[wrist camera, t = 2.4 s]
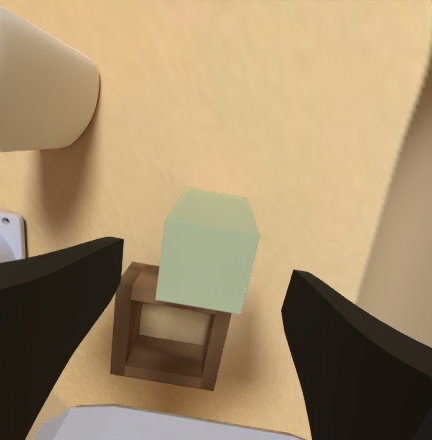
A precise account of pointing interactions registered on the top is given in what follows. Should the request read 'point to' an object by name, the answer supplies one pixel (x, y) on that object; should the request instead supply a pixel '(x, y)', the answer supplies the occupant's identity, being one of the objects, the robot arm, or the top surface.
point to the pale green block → (207, 251)
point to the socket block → (161, 348)
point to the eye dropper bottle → (42, 88)
